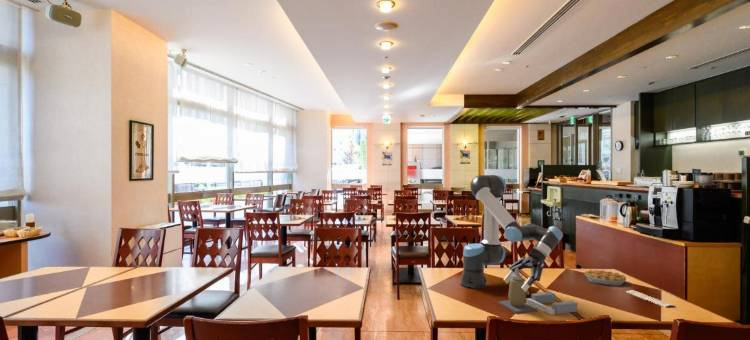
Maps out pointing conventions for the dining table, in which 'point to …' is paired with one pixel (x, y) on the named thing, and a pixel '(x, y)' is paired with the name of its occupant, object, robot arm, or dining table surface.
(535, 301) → the grey u-shaped frame
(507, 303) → the rubber mat
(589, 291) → the dining table surface
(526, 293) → the chocolate bunny
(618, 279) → the pie
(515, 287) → the squeeze bottle
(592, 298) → the dining table surface
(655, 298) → the newspaper
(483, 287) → the robot arm
